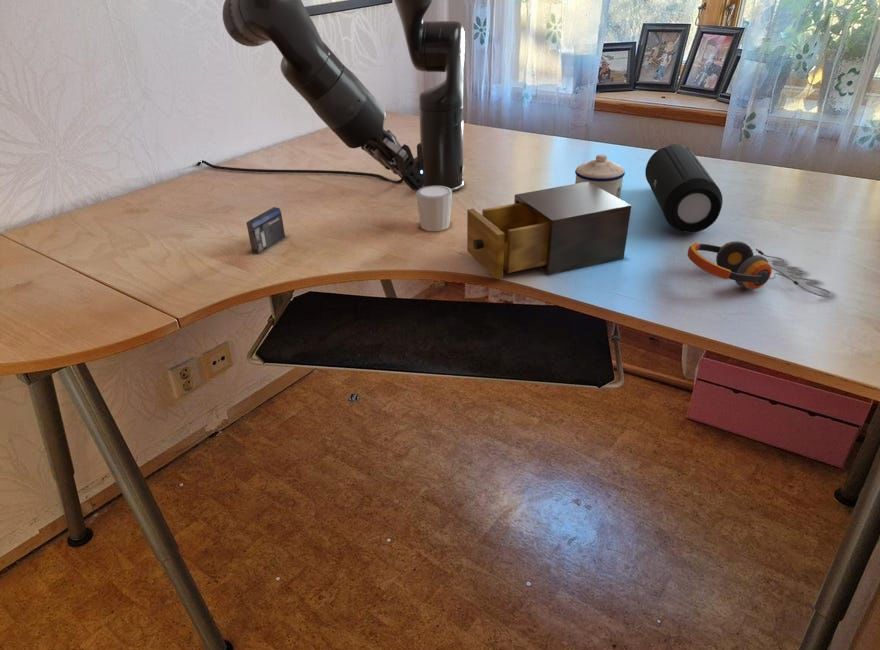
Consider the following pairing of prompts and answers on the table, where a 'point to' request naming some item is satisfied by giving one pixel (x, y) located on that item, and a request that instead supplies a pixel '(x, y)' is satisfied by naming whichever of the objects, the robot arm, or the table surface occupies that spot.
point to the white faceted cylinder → (434, 207)
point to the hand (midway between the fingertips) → (418, 185)
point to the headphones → (743, 265)
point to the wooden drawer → (507, 238)
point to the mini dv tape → (265, 230)
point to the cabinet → (580, 225)
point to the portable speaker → (683, 189)
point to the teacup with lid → (601, 174)
